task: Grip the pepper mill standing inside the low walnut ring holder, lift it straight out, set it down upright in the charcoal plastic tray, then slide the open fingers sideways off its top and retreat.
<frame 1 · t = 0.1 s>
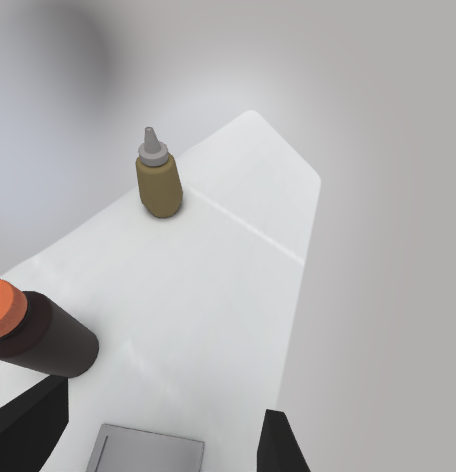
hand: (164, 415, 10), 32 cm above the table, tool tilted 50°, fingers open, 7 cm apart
squeeze bottle: (164, 207, 56), on the table
vinegar: (75, 353, 40), on the table
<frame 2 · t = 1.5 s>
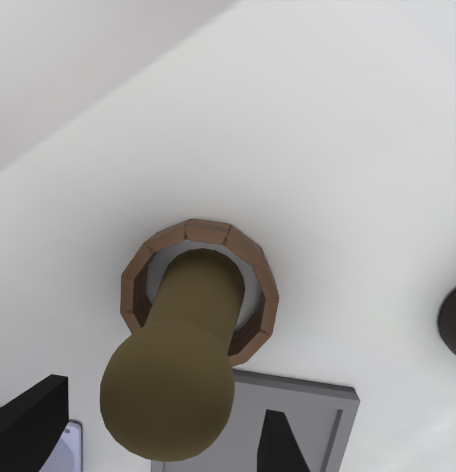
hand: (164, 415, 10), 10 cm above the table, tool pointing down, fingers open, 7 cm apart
tray: (245, 438, 23), on the table
ring holder: (203, 288, 20), on the table
pepper mill: (203, 287, 20), resting in ring holder
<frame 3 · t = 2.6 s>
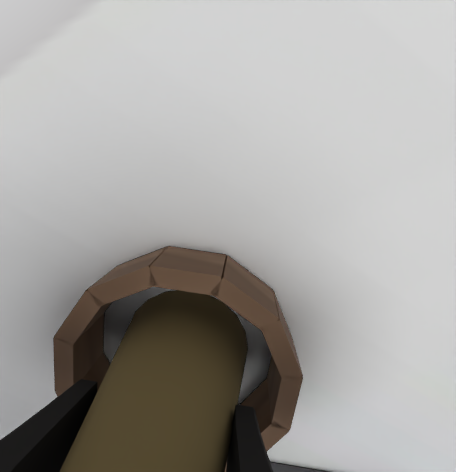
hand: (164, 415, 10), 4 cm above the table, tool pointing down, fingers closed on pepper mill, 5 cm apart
ring holder: (186, 345, 14), on the table
pepper mill: (187, 343, 14), resting in ring holder, touching gripper
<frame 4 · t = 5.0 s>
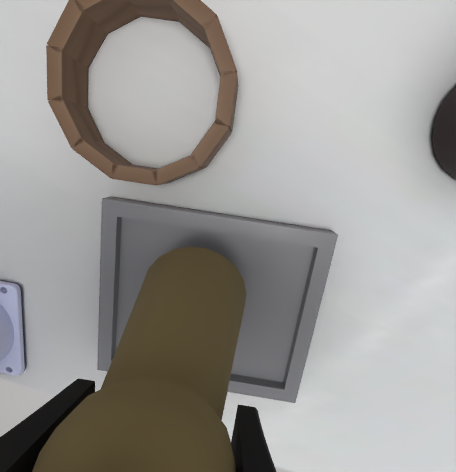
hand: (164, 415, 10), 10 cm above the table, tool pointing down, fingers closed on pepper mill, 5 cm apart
tray: (208, 300, 20), on the table
ring holder: (154, 97, 17), on the table
pepper mill: (194, 292, 16), point 3 cm above the table, touching gripper
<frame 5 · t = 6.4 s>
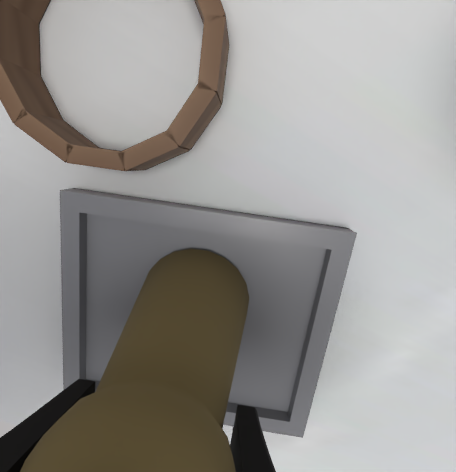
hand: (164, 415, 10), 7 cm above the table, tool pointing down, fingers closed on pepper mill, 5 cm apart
tray: (196, 314, 17), on the table
ring holder: (123, 61, 13), on the table
pepper mill: (196, 297, 16), resting on tray, touching gripper
when the fingers open (7 cm above the table, at t = 7.3 s): pepper mill stays where it is, resting on tray.
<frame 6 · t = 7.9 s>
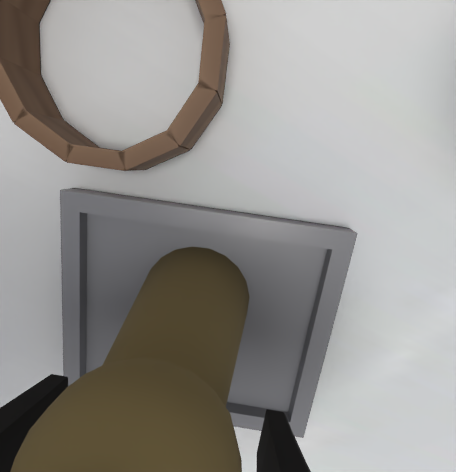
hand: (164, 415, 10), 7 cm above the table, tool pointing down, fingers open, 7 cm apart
tray: (196, 314, 16), on the table
ring holder: (124, 61, 13), on the table
pepper mill: (196, 296, 16), resting on tray
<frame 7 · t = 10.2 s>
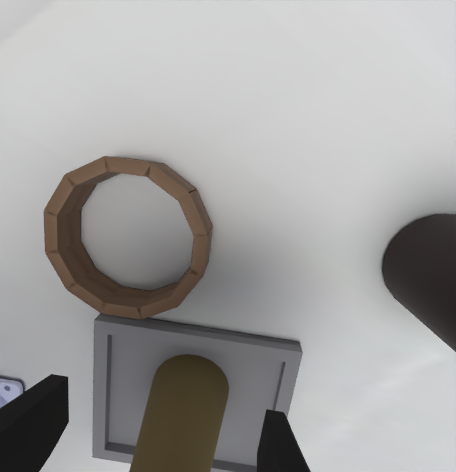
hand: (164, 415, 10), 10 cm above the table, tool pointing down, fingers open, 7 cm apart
vinegar: (430, 261, 19), on the table
tray: (191, 396, 22), on the table
ring holder: (139, 234, 19), on the table
pepper mill: (191, 385, 22), resting on tray
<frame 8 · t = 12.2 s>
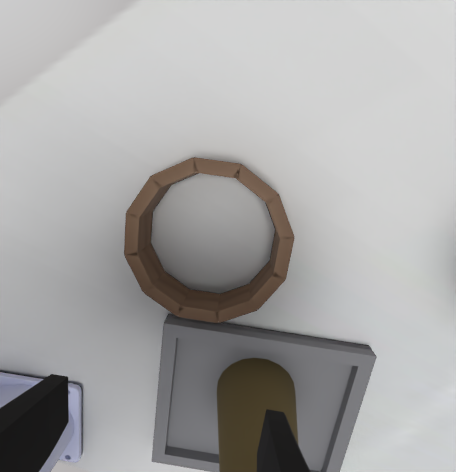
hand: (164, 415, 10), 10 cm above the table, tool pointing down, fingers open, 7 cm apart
tray: (253, 400, 22), on the table
ring holder: (211, 236, 19), on the table
pepper mill: (255, 389, 21), resting on tray
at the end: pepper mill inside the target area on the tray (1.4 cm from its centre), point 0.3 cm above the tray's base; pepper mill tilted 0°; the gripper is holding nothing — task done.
